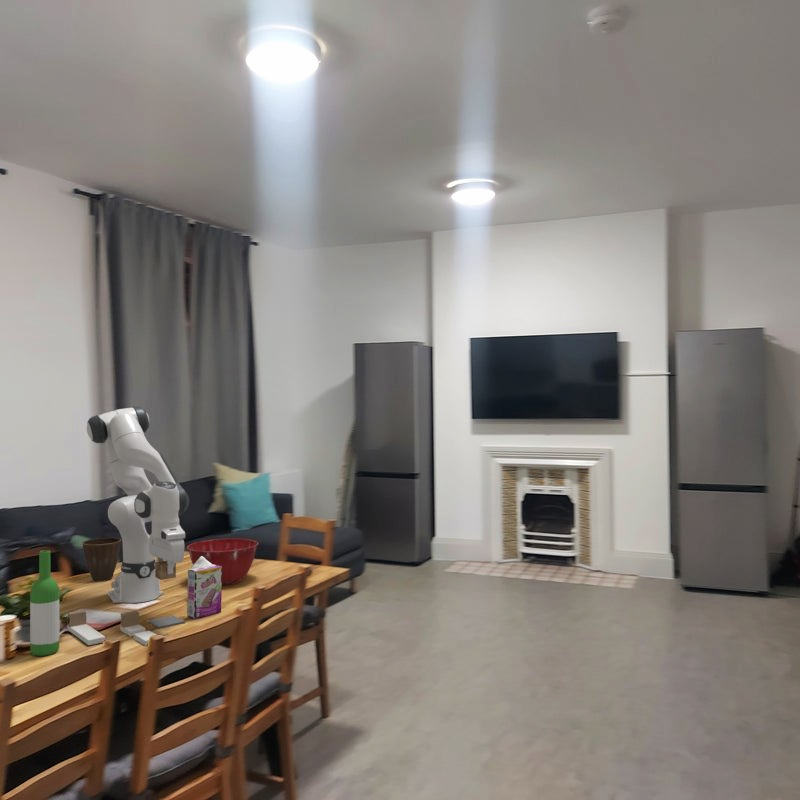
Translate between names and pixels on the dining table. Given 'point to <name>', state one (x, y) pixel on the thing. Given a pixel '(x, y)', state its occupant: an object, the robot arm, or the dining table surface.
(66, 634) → the dining table surface
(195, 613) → the candy bar box
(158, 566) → the cube
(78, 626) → the strip
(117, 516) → the robot arm
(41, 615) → the wine bottle
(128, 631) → the strip broken
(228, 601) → the dining table surface
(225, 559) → the mixing bowl
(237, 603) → the dining table surface
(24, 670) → the dining table surface
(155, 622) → the coaster
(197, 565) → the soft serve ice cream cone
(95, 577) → the plant pot
